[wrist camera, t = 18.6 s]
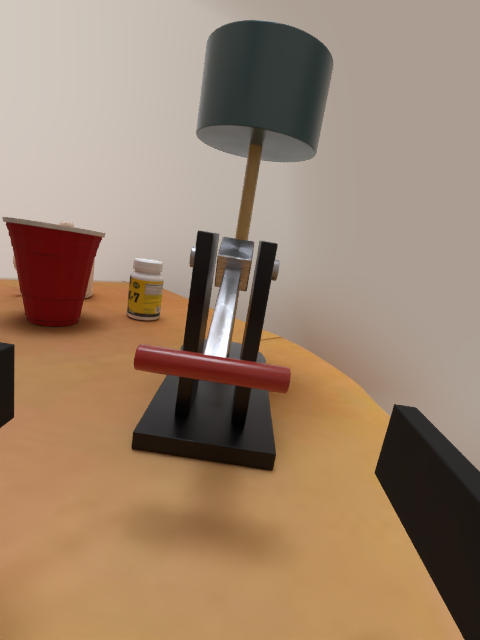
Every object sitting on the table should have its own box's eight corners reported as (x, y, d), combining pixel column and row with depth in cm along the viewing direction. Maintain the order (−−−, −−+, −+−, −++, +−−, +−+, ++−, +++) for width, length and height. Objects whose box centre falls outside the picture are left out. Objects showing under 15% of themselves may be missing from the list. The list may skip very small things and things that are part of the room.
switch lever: (282, 407, 16) (293, 372, 15) (135, 383, 16) (132, 346, 15) (281, 276, 26) (288, 247, 24) (187, 261, 26) (189, 230, 24)
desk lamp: (156, 381, 31) (198, 8, 25) (180, 344, 42) (213, 77, 35) (276, 400, 32) (349, 34, 25) (269, 359, 42) (319, 95, 35)
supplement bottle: (122, 312, 52) (126, 256, 50) (151, 312, 55) (157, 259, 53) (133, 321, 48) (139, 261, 47) (164, 320, 51) (171, 264, 49)
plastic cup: (107, 314, 50) (113, 229, 47) (88, 337, 40) (95, 230, 37) (25, 305, 48) (26, 216, 45) (-17, 326, 38) (-19, 212, 35)
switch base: (272, 470, 22) (318, 250, 19) (131, 448, 22) (153, 223, 18) (265, 398, 32) (294, 246, 28) (167, 383, 31) (185, 228, 28)
